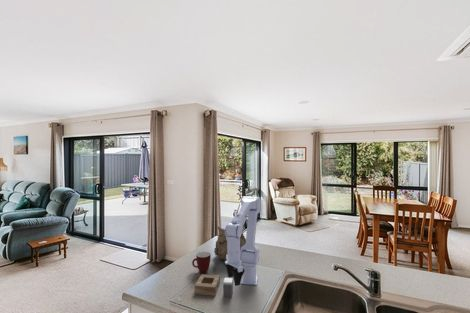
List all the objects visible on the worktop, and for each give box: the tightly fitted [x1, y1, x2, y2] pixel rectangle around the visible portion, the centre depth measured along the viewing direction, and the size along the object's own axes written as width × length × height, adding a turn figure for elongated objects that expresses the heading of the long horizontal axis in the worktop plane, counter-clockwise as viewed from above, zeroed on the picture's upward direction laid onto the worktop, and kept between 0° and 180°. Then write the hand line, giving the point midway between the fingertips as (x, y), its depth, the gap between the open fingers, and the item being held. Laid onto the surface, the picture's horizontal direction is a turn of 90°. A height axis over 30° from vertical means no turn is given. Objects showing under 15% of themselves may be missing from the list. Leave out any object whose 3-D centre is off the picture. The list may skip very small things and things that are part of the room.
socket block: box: [194, 273, 221, 297], centre depth 116 cm, size 11×10×4 cm
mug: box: [191, 251, 212, 275], centre depth 133 cm, size 10×8×10 cm
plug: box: [222, 277, 234, 299], centre depth 110 cm, size 4×4×7 cm
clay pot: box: [213, 225, 246, 261], centre depth 153 cm, size 25×24×22 cm
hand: (234, 280), depth 104 cm, fingers open, 7 cm apart
